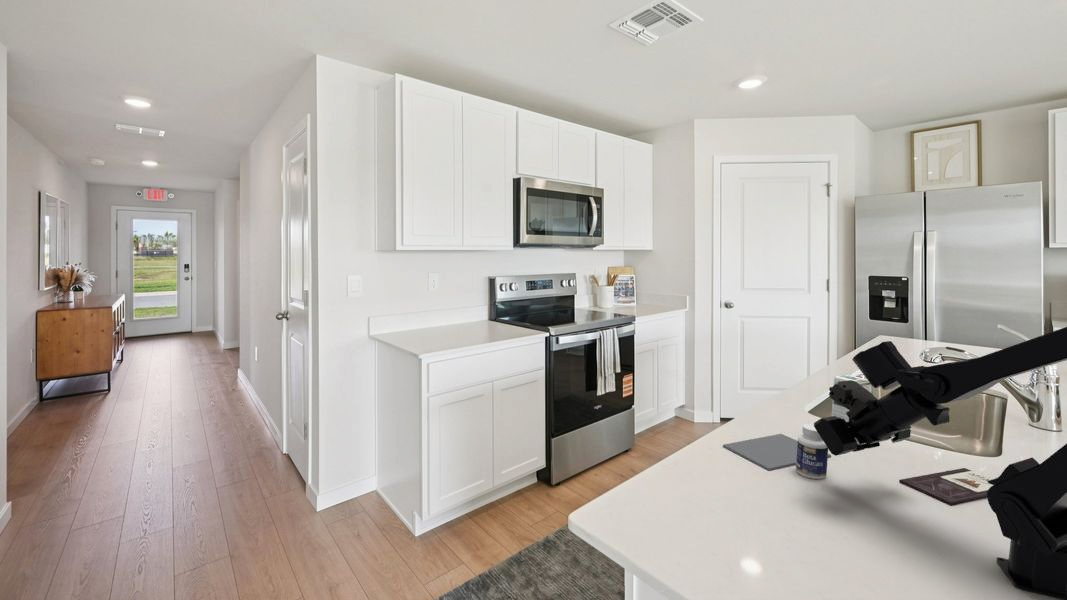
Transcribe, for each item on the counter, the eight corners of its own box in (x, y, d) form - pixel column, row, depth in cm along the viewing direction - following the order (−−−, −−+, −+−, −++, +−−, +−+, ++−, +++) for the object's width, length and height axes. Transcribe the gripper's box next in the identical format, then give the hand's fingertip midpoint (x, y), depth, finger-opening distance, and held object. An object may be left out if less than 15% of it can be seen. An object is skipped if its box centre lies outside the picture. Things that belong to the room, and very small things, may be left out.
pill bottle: (799, 477, 94) (802, 430, 93) (793, 466, 100) (795, 421, 99) (830, 481, 93) (833, 433, 92) (822, 469, 98) (825, 423, 97)
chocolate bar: (899, 479, 92) (964, 467, 97) (899, 484, 93) (963, 472, 98) (951, 502, 84) (1019, 488, 89) (950, 508, 84) (1018, 493, 89)
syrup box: (829, 433, 117) (832, 376, 116) (844, 429, 120) (847, 373, 118) (852, 441, 112) (856, 381, 111) (868, 437, 115) (872, 378, 113)
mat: (830, 457, 104) (831, 454, 104) (769, 470, 97) (769, 468, 97) (780, 435, 116) (780, 433, 116) (722, 446, 109) (722, 444, 109)
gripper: (898, 366, 89) (837, 405, 100) (827, 375, 82) (771, 416, 93) (943, 421, 82) (873, 455, 94) (870, 436, 75) (804, 471, 87)
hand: (830, 448), depth 92 cm, fingers closed
